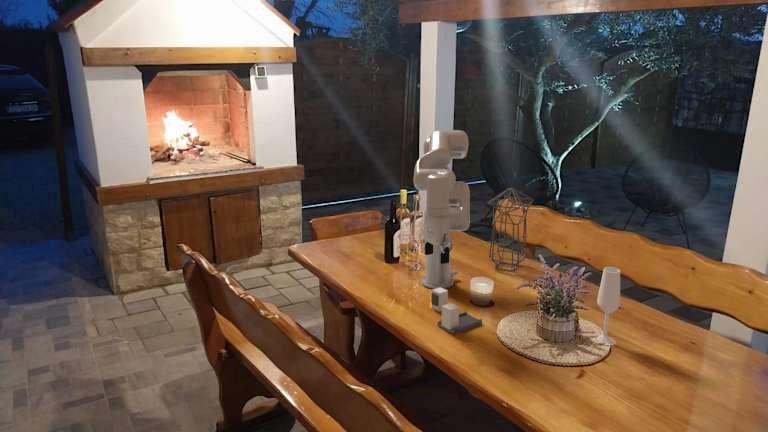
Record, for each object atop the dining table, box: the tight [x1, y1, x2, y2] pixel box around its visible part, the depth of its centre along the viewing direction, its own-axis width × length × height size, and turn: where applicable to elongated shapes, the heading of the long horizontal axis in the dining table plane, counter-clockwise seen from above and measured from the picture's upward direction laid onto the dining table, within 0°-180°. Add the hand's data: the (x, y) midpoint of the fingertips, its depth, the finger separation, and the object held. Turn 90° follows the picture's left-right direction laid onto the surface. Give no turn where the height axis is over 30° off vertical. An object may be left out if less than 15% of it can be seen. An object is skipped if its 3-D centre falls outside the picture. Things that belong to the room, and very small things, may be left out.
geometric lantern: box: [486, 187, 535, 272], centre depth 243 cm, size 16×16×35 cm
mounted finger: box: [441, 302, 460, 330], centre depth 192 cm, size 5×4×7 cm
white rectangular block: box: [431, 287, 449, 312], centre depth 207 cm, size 5×4×7 cm
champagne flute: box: [596, 266, 621, 347], centre depth 181 cm, size 7×7×24 cm
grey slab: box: [437, 311, 483, 336], centre depth 195 cm, size 13×8×2 cm, turn 127°
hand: (436, 258), depth 199 cm, fingers open, 9 cm apart
